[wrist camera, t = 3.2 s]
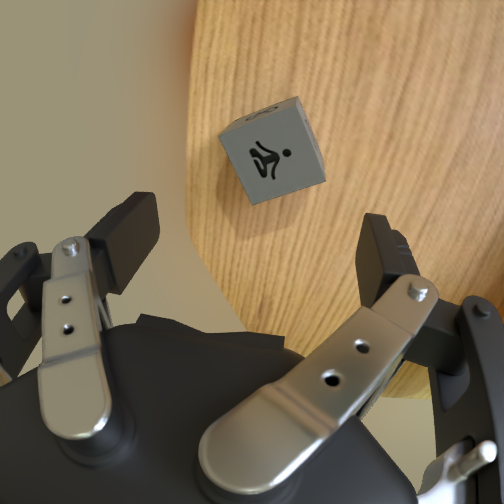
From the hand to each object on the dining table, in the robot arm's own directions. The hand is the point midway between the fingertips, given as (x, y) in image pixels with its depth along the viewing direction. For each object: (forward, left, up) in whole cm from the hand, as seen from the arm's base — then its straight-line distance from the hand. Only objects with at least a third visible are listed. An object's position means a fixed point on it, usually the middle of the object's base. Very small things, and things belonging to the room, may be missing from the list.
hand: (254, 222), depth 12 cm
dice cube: (0, 0, -13) cm, 13 cm away
